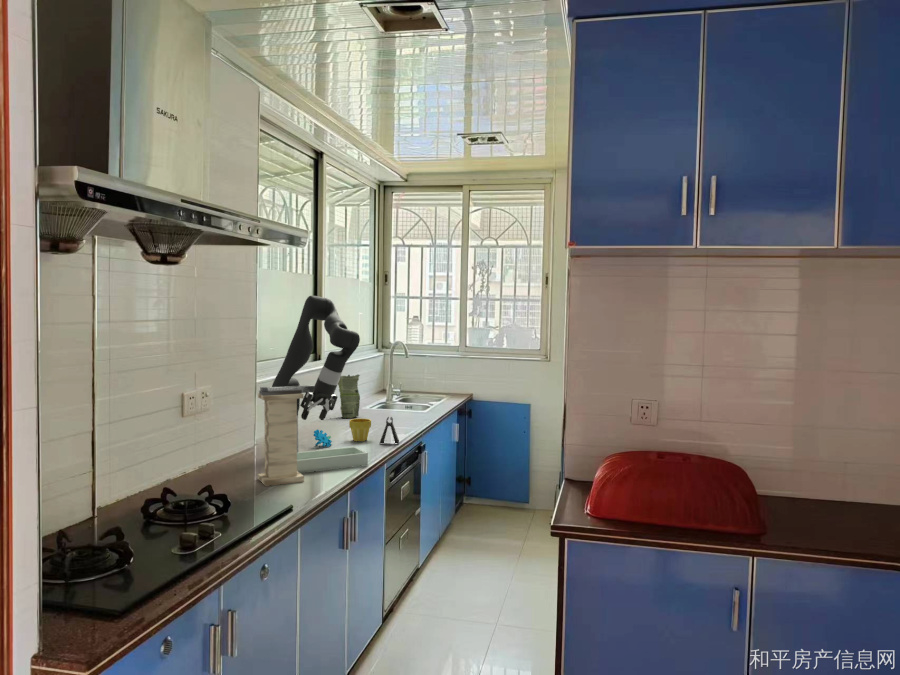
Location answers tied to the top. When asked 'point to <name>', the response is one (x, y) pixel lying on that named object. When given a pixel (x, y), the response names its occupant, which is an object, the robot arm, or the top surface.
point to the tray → (330, 459)
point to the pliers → (392, 431)
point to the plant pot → (360, 428)
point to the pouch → (349, 396)
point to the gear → (322, 438)
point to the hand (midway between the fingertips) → (312, 419)
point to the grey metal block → (288, 388)
